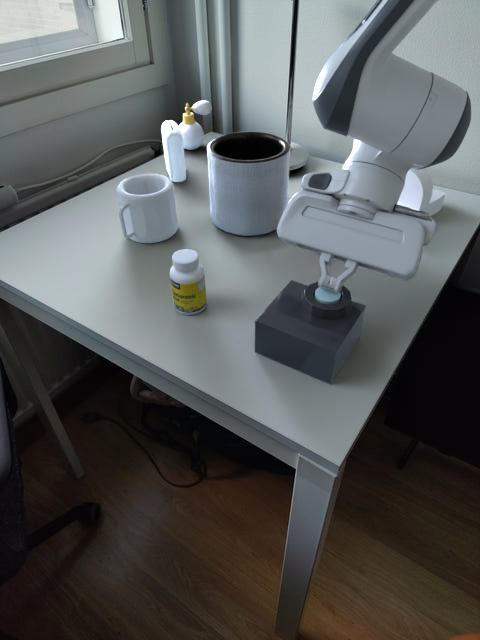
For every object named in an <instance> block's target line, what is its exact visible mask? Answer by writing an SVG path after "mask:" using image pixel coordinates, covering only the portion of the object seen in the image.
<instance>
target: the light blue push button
mask: <svg viewBox="0 0 480 640" xmlns="http://www.w3.org/2000/svg"><path fill="white" fill-rule="evenodd" d="M314 298H315V299H316V300H317V301H318V302H321V303H324V304H335V303H338V302H340V298H341V293H336V292H333V291H330V290H327V289H324V288H321V287H319V288H317V289H316V291H315V297H314Z"/></svg>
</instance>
